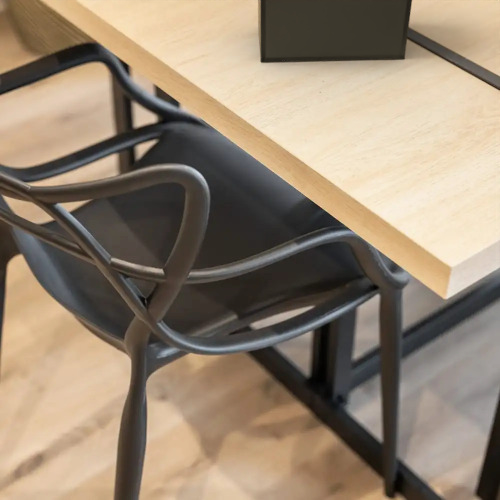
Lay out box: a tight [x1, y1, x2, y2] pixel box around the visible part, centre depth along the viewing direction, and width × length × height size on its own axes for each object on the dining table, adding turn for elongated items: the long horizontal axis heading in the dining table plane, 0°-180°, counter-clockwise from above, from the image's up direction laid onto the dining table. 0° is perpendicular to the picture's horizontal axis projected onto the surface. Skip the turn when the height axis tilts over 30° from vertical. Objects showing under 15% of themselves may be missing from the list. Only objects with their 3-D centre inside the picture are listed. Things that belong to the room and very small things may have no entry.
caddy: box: [257, 0, 413, 63], centre depth 89 cm, size 16×8×8 cm, turn 91°
